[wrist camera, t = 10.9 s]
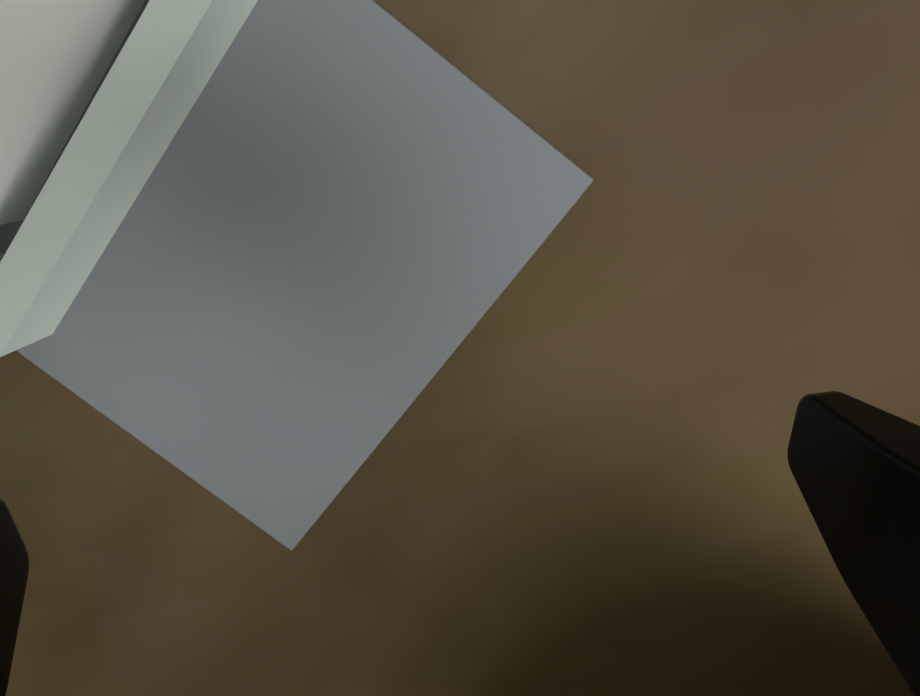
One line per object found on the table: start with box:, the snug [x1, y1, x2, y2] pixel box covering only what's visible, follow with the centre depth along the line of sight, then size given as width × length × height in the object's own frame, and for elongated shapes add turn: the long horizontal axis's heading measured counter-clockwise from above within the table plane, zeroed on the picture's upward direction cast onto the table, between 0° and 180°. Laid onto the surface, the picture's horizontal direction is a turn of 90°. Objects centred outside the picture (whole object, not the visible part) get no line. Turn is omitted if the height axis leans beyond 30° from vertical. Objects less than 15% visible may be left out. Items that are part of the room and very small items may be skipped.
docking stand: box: [0, 0, 593, 551], centre depth 18 cm, size 18×12×3 cm, turn 52°
